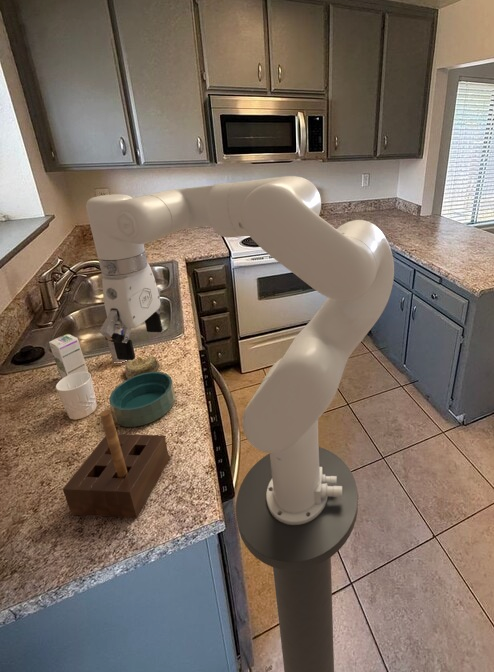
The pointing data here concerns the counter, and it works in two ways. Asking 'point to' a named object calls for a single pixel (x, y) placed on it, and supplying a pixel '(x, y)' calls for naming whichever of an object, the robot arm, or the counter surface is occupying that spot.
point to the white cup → (77, 395)
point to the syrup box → (68, 355)
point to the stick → (113, 443)
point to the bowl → (142, 399)
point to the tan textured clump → (141, 366)
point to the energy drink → (113, 352)
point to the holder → (104, 485)
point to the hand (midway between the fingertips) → (141, 344)
